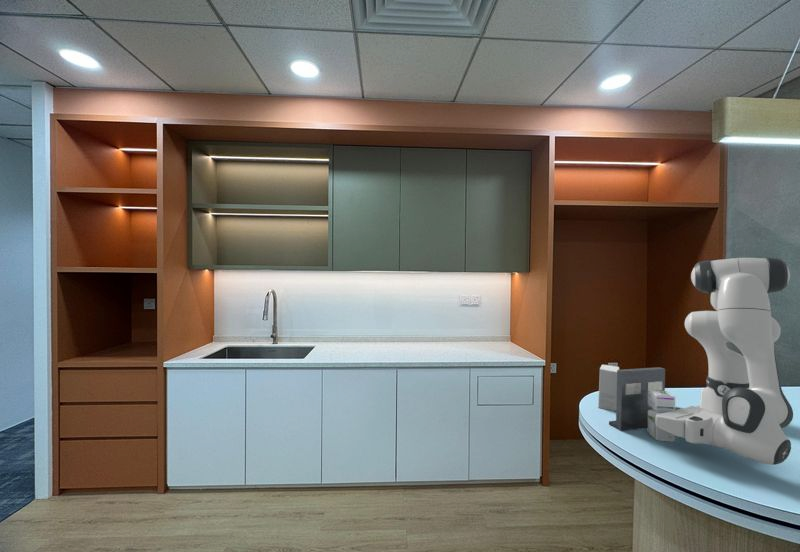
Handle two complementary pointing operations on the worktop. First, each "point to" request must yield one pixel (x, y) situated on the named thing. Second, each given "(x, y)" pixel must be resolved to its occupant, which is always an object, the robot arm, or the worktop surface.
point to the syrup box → (661, 404)
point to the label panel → (635, 396)
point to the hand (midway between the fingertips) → (658, 410)
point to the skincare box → (608, 387)
